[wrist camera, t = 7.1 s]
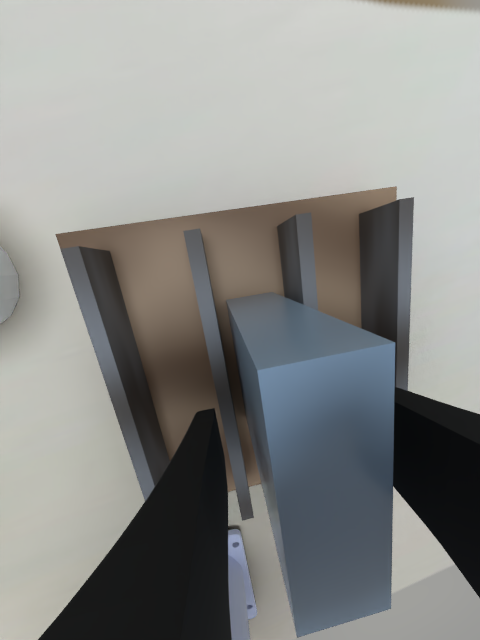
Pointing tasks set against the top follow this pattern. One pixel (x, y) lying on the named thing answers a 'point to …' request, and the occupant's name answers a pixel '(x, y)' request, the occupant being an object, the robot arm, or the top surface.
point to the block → (321, 453)
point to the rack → (212, 314)
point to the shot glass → (7, 286)
